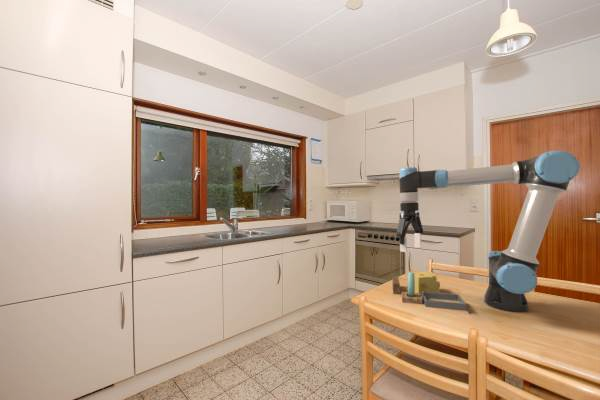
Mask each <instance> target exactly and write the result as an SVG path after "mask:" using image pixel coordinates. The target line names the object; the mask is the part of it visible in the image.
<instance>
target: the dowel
mask: <svg viewBox="0 0 600 400" xmlns="http://www.w3.org/2000/svg"><path fill="white" fill-rule="evenodd" d="M412 272H413V271H410V272H407V292H408V297H415V281H414V273H412Z"/></svg>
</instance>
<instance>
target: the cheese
mask: <svg viewBox="0 0 600 400" xmlns="http://www.w3.org/2000/svg"><path fill="white" fill-rule="evenodd" d="M411 272H412V273H414V281H415V293H420V295H421V297H422V292H432V293H442V292H441V289H440V288H441V283H440V281H439V279H438V277H437V275H436V274H435V273H433V272H432V271H429V270H428V271H427V270H426V271H411Z"/></svg>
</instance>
